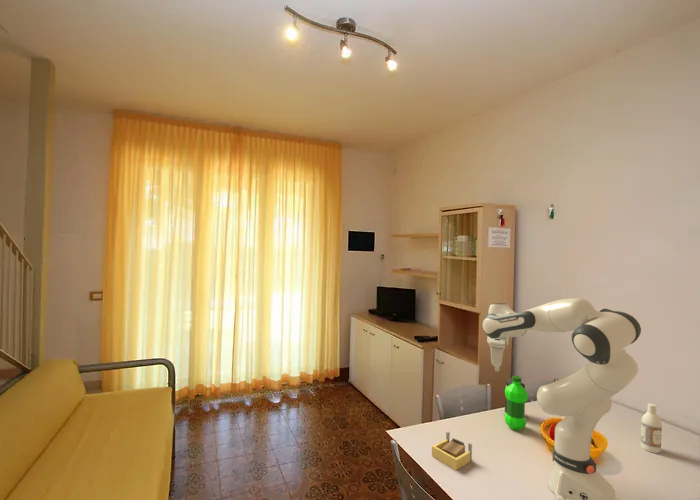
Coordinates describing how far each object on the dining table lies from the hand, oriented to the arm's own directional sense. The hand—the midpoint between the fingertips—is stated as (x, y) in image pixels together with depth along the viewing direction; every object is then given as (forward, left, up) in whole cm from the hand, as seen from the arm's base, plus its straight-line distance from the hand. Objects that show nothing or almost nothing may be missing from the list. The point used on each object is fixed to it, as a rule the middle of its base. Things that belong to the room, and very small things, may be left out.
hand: (497, 370), depth 157 cm
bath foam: (-43, -56, -34) cm, 78 cm away
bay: (+6, +23, -34) cm, 41 cm away
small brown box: (+6, +22, -34) cm, 41 cm away
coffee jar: (+10, -37, -34) cm, 51 cm away
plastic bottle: (+3, -24, -34) cm, 42 cm away
